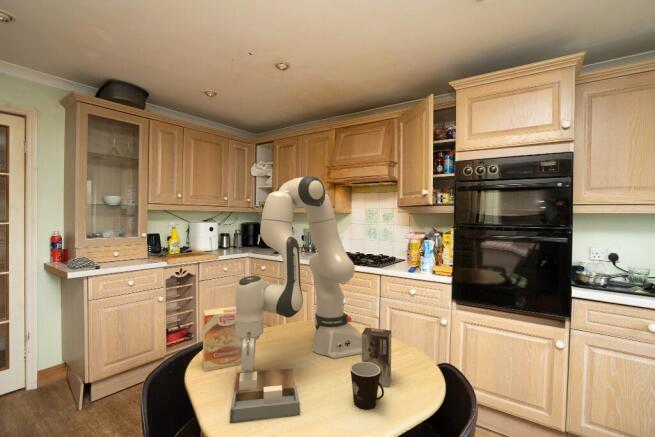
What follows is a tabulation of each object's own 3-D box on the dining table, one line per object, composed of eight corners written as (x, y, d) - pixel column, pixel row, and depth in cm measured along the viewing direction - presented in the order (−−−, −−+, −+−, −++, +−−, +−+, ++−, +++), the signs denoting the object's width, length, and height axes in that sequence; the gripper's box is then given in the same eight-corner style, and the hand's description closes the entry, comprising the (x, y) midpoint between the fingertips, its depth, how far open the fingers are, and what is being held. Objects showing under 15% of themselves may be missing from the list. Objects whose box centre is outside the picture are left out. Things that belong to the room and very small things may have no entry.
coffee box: (391, 378, 105) (392, 330, 105) (388, 387, 99) (389, 337, 99) (364, 373, 108) (365, 326, 108) (360, 382, 102) (361, 333, 102)
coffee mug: (347, 395, 95) (348, 362, 95) (375, 394, 96) (376, 361, 95) (354, 420, 83) (354, 382, 83) (386, 418, 84) (386, 381, 84)
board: (292, 376, 105) (292, 367, 105) (296, 397, 93) (296, 387, 93) (236, 382, 101) (236, 372, 101) (233, 403, 90) (233, 393, 90)
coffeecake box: (203, 371, 108) (204, 315, 108) (202, 363, 114) (202, 309, 114) (248, 363, 114) (248, 310, 114) (244, 355, 121) (244, 304, 120)
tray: (296, 397, 93) (296, 385, 93) (299, 415, 85) (299, 402, 85) (233, 403, 90) (233, 391, 90) (230, 423, 81) (230, 409, 81)
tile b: (256, 379, 97) (257, 371, 97) (256, 388, 92) (256, 379, 92) (240, 381, 96) (240, 373, 96) (239, 390, 91) (239, 381, 91)
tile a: (281, 385, 90) (282, 390, 87) (281, 402, 90) (281, 408, 87) (263, 387, 88) (263, 391, 86) (263, 404, 89) (263, 410, 86)
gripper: (259, 339, 91) (258, 387, 91) (259, 317, 111) (259, 356, 111) (236, 341, 90) (235, 389, 90) (241, 318, 110) (240, 357, 110)
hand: (248, 370), depth 101 cm, fingers closed
